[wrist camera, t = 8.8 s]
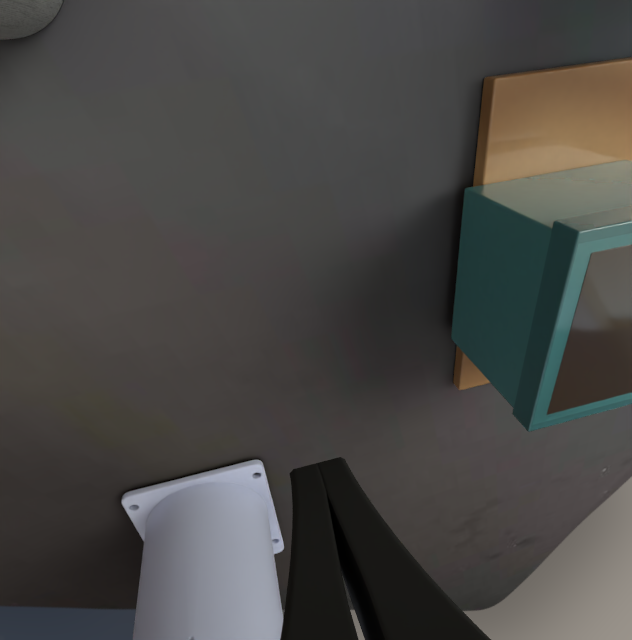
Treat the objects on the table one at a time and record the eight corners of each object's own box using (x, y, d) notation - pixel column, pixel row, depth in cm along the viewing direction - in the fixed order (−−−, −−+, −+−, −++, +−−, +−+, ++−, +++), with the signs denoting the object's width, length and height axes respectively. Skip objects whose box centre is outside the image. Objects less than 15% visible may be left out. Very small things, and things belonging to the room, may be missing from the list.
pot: (449, 343, 22) (586, 311, 24) (528, 433, 17) (700, 386, 18) (464, 180, 18) (633, 151, 19) (579, 232, 12) (806, 186, 14)
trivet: (625, 340, 27) (635, 347, 26) (452, 382, 25) (459, 391, 25) (734, 42, 18) (755, 41, 18) (483, 77, 17) (494, 77, 16)
